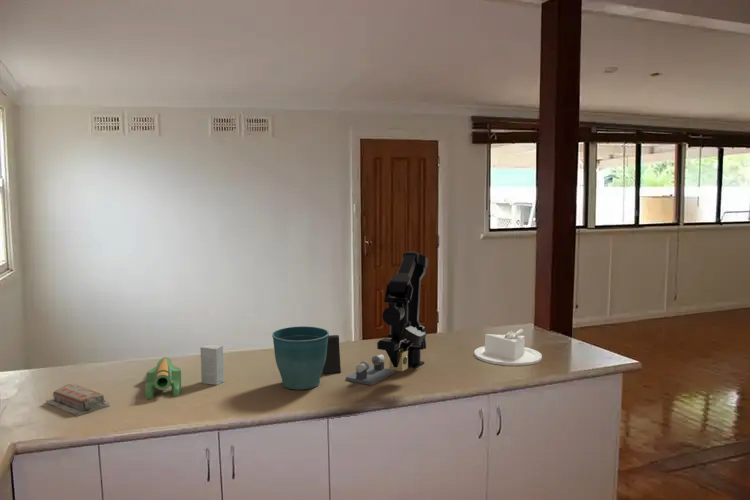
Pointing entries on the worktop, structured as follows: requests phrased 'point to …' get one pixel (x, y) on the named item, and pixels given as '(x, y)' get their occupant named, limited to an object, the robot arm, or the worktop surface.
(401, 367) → the tan block
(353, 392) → the worktop surface
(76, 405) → the packaged product
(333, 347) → the phone stand
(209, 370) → the skincare box
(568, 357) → the worktop surface
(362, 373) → the grey plate with pegs
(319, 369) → the flower pot
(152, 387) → the toy spaceship
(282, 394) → the worktop surface
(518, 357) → the dish
